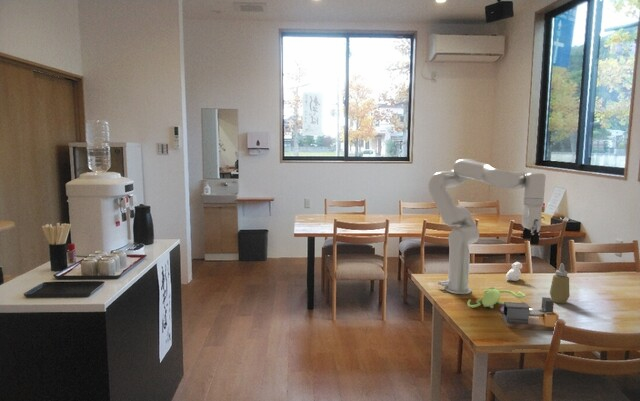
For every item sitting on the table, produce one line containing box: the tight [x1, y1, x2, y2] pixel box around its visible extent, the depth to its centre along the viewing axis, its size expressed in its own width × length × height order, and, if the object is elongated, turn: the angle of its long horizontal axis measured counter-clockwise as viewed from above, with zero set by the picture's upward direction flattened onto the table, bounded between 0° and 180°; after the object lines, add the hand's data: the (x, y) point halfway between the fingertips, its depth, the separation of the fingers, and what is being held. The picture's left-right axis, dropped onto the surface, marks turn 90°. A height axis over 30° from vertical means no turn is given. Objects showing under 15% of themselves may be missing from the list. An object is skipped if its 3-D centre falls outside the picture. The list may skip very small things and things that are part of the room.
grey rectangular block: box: [529, 297, 555, 318], centre depth 167 cm, size 12×4×7 cm, turn 82°
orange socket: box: [538, 309, 560, 327], centre depth 167 cm, size 4×7×5 cm, turn 172°
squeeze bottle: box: [549, 262, 570, 304], centre depth 193 cm, size 8×8×18 cm
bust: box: [505, 261, 523, 282], centre depth 224 cm, size 12×8×11 cm
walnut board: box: [501, 315, 555, 332], centre depth 168 cm, size 19×9×1 cm, turn 82°
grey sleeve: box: [502, 301, 530, 324], centre depth 168 cm, size 8×5×7 cm, turn 82°
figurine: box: [467, 286, 526, 314], centre depth 190 cm, size 18×27×6 cm
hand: (530, 241), depth 180 cm, fingers open, 9 cm apart
